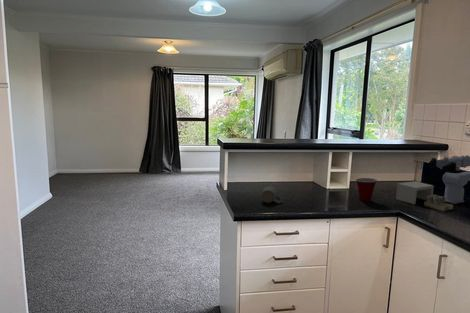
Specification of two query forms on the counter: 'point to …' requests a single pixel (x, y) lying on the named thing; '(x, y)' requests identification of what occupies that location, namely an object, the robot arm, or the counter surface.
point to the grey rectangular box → (413, 191)
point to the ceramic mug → (270, 195)
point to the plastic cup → (365, 188)
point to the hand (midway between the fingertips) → (435, 166)
